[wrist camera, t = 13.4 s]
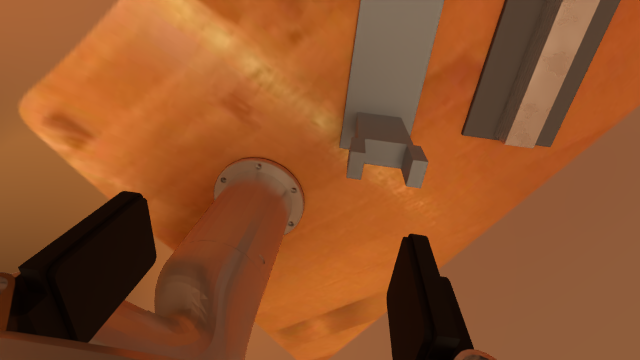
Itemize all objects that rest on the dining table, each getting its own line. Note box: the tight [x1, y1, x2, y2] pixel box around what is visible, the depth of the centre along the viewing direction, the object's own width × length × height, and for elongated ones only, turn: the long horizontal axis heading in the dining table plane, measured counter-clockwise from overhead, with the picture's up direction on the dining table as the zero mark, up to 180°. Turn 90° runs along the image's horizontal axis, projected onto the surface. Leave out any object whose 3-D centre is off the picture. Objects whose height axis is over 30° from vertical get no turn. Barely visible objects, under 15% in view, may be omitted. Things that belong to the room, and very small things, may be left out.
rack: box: [340, 0, 444, 188], centre depth 27 cm, size 25×8×14 cm, turn 174°
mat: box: [461, 0, 620, 147], centre depth 31 cm, size 25×10×1 cm, turn 174°
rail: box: [494, 0, 600, 148], centre depth 29 cm, size 24×3×3 cm, turn 174°
